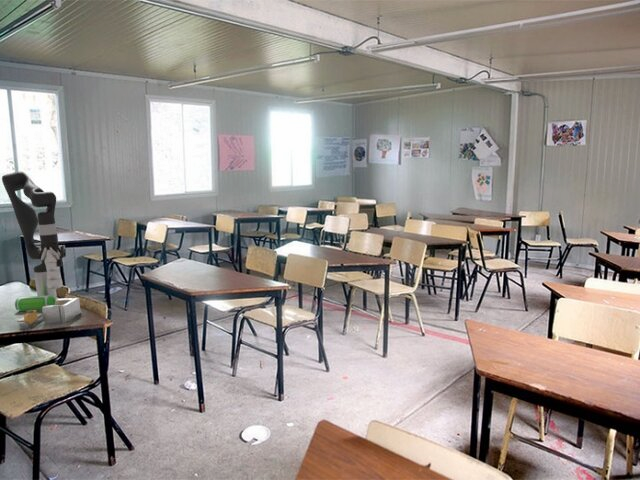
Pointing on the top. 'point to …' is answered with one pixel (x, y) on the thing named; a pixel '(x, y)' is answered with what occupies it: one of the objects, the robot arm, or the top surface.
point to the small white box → (57, 312)
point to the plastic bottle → (52, 271)
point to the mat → (23, 318)
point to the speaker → (33, 302)
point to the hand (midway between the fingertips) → (52, 266)
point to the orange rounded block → (30, 316)
